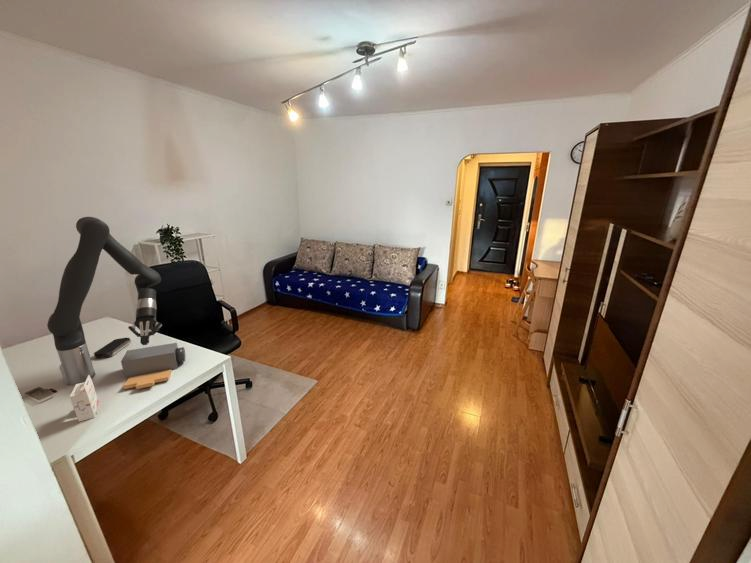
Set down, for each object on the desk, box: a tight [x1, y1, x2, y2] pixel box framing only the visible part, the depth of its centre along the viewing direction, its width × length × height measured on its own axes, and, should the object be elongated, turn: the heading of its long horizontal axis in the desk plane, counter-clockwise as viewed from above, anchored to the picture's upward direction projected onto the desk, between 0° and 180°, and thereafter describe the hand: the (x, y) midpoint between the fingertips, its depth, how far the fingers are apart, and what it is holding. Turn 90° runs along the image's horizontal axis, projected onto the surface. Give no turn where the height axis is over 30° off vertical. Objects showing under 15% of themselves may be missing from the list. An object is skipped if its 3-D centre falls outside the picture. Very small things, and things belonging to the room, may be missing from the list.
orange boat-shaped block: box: [122, 369, 173, 390], centre depth 132 cm, size 16×2×12 cm
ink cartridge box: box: [69, 375, 100, 423], centre depth 113 cm, size 9×5×15 cm, turn 33°
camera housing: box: [120, 342, 186, 379], centre depth 142 cm, size 23×10×10 cm, turn 116°
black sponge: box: [93, 337, 132, 358], centre depth 157 cm, size 16×8×4 cm, turn 5°
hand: (144, 344), depth 133 cm, fingers closed
